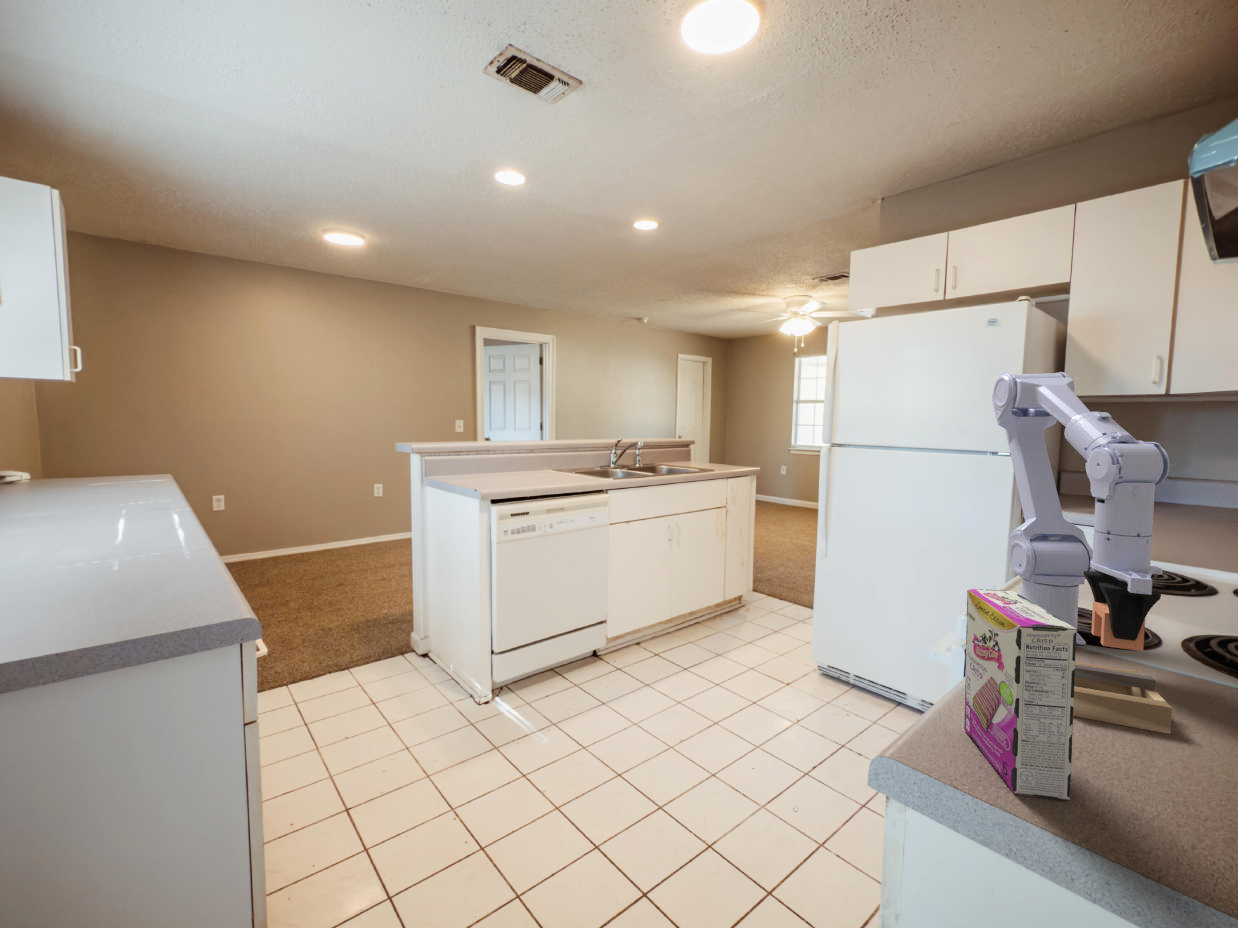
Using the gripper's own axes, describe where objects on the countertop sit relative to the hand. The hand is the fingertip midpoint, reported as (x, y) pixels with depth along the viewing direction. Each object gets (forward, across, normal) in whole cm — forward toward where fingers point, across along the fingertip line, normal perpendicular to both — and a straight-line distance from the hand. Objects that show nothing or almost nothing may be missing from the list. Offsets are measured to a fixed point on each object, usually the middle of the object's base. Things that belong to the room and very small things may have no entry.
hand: (1116, 631), depth 73 cm
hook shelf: (+6, -11, +4) cm, 13 cm away
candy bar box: (+6, -30, +16) cm, 34 cm away
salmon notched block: (+2, 0, 0) cm, 2 cm away
